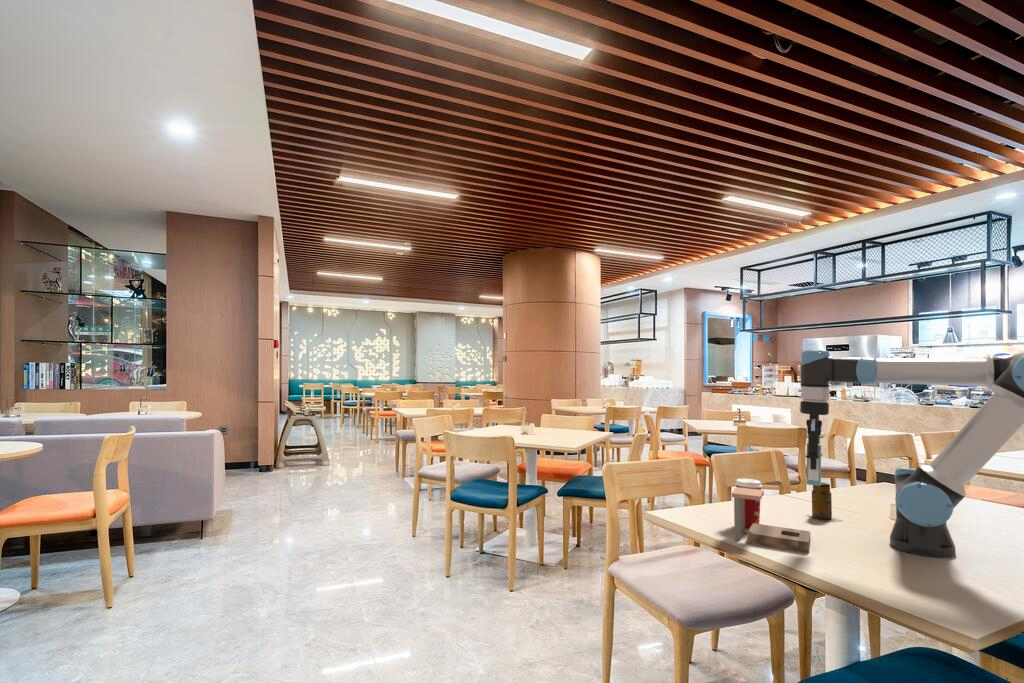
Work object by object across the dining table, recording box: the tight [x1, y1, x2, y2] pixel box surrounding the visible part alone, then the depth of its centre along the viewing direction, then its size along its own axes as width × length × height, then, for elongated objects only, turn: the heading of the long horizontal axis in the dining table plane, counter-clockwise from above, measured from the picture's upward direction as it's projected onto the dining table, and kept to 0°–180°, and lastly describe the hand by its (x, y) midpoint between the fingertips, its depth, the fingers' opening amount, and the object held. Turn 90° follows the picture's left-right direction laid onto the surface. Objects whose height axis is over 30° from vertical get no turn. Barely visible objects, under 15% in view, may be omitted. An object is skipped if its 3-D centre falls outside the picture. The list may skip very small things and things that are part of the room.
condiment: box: [806, 481, 843, 523], centre depth 186 cm, size 7×8×12 cm
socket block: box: [747, 523, 811, 554], centre depth 159 cm, size 16×12×3 cm
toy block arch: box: [731, 487, 765, 541], centre depth 164 cm, size 8×10×14 cm
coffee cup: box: [734, 478, 763, 530], centre depth 176 cm, size 8×8×15 cm
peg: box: [805, 442, 822, 486], centre depth 159 cm, size 4×4×12 cm
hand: (813, 478), depth 159 cm, fingers closed on peg, 4 cm apart
